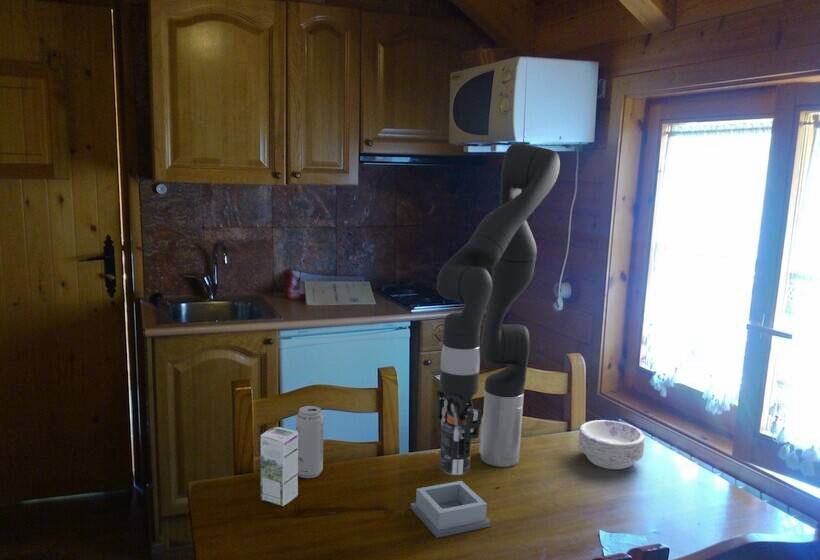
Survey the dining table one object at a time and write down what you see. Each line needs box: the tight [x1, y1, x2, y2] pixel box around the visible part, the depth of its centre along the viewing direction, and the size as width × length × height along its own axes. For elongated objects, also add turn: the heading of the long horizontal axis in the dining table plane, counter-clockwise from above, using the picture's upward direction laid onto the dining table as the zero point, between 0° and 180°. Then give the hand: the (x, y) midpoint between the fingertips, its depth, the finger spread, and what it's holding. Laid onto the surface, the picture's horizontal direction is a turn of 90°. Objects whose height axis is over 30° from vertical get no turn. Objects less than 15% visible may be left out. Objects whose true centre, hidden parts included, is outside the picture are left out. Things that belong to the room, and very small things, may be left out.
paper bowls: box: [578, 419, 646, 470], centre depth 167 cm, size 15×15×8 cm
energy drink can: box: [295, 405, 325, 479], centre depth 154 cm, size 6×6×15 cm
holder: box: [410, 480, 492, 538], centre depth 138 cm, size 12×12×4 cm
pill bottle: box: [439, 414, 472, 476], centre depth 136 cm, size 6×6×11 cm
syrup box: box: [260, 426, 299, 507], centre depth 142 cm, size 6×6×14 cm
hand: (455, 449), depth 136 cm, fingers closed on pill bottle, 6 cm apart
